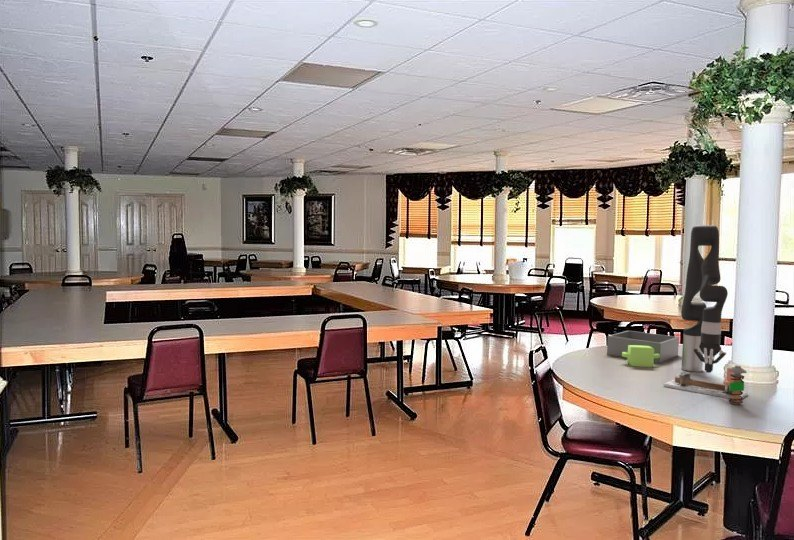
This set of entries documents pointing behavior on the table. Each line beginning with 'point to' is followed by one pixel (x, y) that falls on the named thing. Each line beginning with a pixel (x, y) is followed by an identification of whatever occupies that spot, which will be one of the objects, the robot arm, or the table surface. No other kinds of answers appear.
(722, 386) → the beam
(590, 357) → the table surface
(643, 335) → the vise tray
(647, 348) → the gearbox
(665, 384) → the hole plate
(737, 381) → the shock absorber
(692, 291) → the robot arm
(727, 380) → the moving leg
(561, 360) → the table surface
